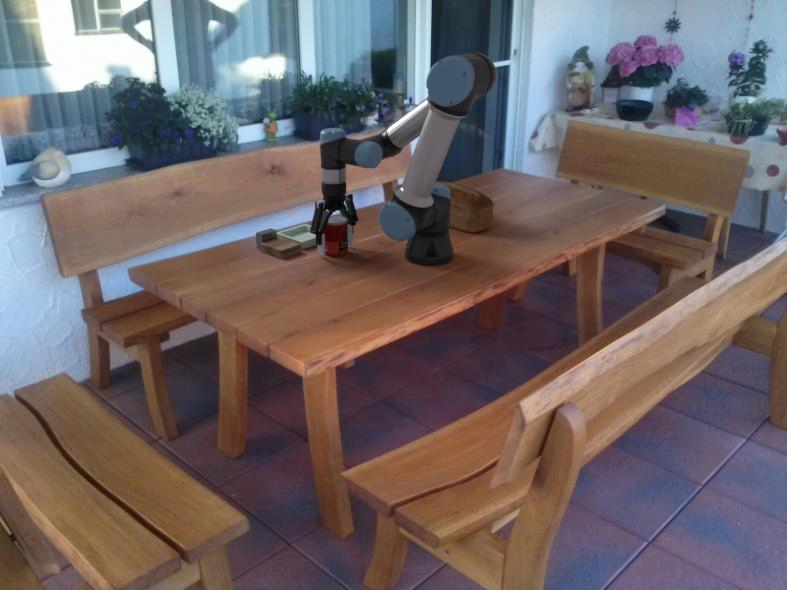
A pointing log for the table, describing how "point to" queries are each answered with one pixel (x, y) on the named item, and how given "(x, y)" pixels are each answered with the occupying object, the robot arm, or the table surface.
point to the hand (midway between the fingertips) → (335, 249)
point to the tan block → (280, 247)
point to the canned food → (336, 236)
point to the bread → (469, 208)
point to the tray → (299, 236)
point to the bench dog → (265, 236)
